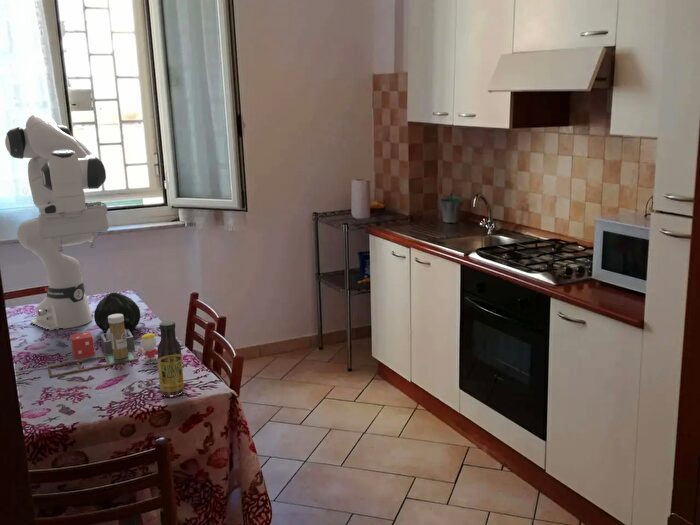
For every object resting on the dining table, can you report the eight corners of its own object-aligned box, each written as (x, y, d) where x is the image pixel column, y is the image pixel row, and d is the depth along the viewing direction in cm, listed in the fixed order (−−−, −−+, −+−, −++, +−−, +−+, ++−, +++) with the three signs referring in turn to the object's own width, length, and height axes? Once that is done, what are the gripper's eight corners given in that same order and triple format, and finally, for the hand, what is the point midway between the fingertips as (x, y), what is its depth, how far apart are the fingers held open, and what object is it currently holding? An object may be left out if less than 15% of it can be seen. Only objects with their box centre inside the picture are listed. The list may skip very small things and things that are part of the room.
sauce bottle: (162, 400, 184) (154, 328, 180) (158, 391, 190) (150, 321, 185) (187, 395, 187) (180, 324, 182) (183, 386, 193) (175, 317, 188)
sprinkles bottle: (125, 359, 213) (120, 317, 210) (110, 360, 214) (105, 318, 210) (130, 354, 218) (125, 312, 215) (116, 354, 218) (110, 313, 215)
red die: (74, 358, 217) (72, 340, 216) (72, 352, 223) (69, 334, 221) (95, 354, 220) (92, 336, 218) (92, 349, 225) (90, 331, 224)
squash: (130, 304, 253) (101, 281, 242) (155, 313, 244) (127, 289, 233) (106, 338, 247) (76, 315, 237) (131, 347, 238) (101, 324, 228)
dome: (103, 346, 224) (100, 327, 223) (118, 340, 230) (115, 321, 228) (117, 349, 221) (115, 330, 220) (132, 342, 227) (130, 323, 225)
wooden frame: (49, 377, 203) (49, 376, 203) (47, 367, 211) (47, 366, 211) (138, 360, 214) (138, 358, 214) (133, 351, 221) (132, 349, 221)
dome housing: (106, 354, 220) (104, 342, 219) (102, 345, 228) (100, 334, 227) (134, 348, 224) (133, 336, 223) (129, 340, 231) (128, 329, 231)
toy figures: (177, 352, 219) (174, 327, 217) (179, 357, 215) (176, 331, 213) (137, 359, 215) (134, 333, 213) (138, 364, 211) (135, 337, 209)
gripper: (104, 199, 220) (110, 242, 223) (33, 207, 211) (40, 251, 214) (107, 202, 214) (113, 246, 218) (34, 209, 206) (41, 255, 209)
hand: (76, 249), depth 216 cm, fingers open, 8 cm apart
